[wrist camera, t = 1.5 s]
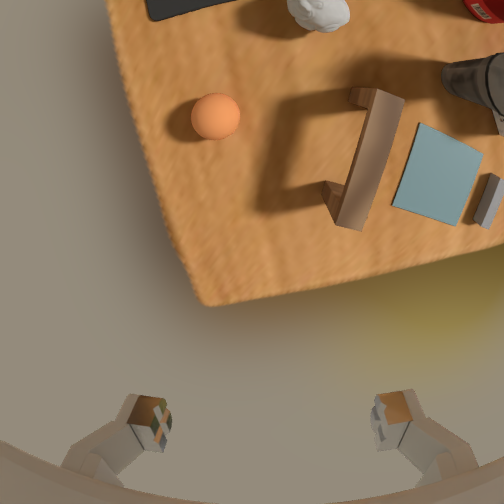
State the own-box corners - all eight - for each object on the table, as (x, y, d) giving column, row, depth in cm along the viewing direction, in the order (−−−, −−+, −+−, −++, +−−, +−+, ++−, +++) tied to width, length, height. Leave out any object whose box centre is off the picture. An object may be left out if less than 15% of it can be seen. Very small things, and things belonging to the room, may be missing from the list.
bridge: (321, 194, 39) (335, 225, 31) (351, 87, 32) (377, 88, 24) (342, 200, 39) (361, 231, 31) (374, 94, 32) (405, 99, 24)
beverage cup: (445, 112, 32) (553, 151, 15) (423, 62, 29) (534, 65, 12) (481, 95, 30) (588, 126, 13) (461, 47, 27) (571, 50, 10)
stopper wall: (491, 172, 35) (500, 178, 33) (498, 177, 35) (508, 182, 33) (472, 219, 39) (480, 226, 37) (480, 222, 39) (488, 229, 37)
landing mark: (419, 122, 33) (420, 122, 33) (482, 153, 34) (483, 154, 34) (391, 205, 39) (392, 205, 39) (454, 225, 40) (455, 226, 40)
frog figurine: (295, -17, 26) (301, -37, 20) (349, 8, 27) (367, -6, 21) (274, 22, 29) (277, 8, 23) (330, 46, 30) (344, 39, 24)
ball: (200, 89, 33) (190, 90, 28) (246, 97, 33) (242, 98, 29) (193, 132, 36) (182, 139, 31) (236, 139, 36) (232, 148, 31)
